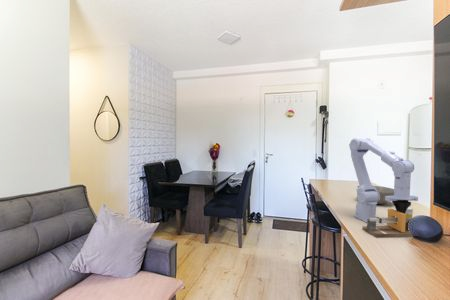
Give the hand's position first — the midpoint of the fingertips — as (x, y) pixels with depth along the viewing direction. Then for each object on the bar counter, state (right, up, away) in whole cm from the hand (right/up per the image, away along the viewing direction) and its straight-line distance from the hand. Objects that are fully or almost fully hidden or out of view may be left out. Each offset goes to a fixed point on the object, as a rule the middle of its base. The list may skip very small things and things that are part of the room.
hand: (400, 216), depth 103 cm
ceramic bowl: (+22, -6, +50) cm, 55 cm away
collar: (-2, -6, 0) cm, 6 cm away
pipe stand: (-5, -8, 0) cm, 9 cm away
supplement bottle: (+16, -7, +17) cm, 24 cm away
